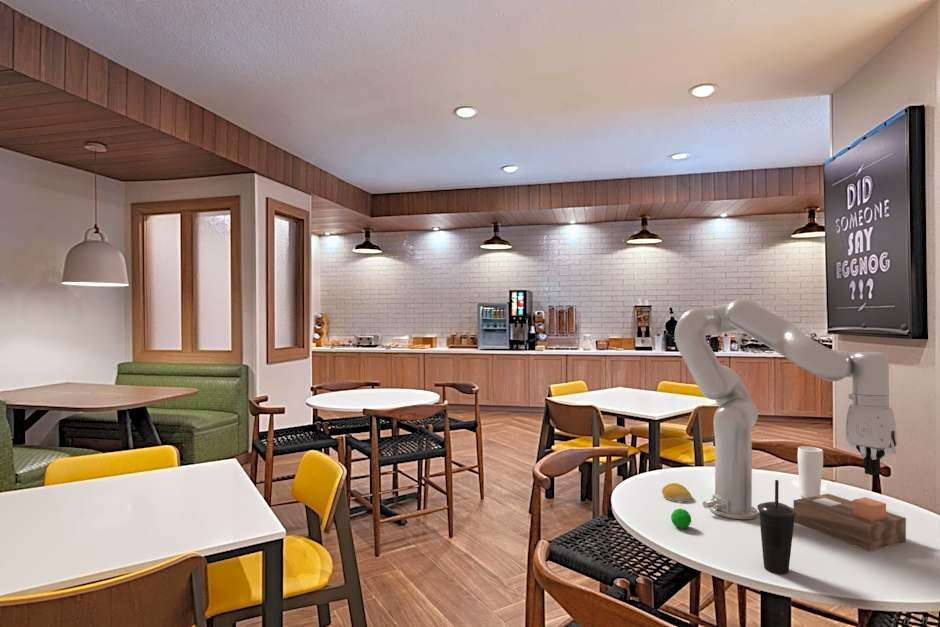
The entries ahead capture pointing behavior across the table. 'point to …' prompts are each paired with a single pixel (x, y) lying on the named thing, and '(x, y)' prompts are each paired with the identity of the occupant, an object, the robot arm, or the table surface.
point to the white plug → (827, 502)
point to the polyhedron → (681, 518)
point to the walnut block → (849, 523)
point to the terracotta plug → (869, 509)
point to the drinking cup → (776, 534)
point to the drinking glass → (810, 470)
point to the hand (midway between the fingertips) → (872, 473)
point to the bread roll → (676, 492)
